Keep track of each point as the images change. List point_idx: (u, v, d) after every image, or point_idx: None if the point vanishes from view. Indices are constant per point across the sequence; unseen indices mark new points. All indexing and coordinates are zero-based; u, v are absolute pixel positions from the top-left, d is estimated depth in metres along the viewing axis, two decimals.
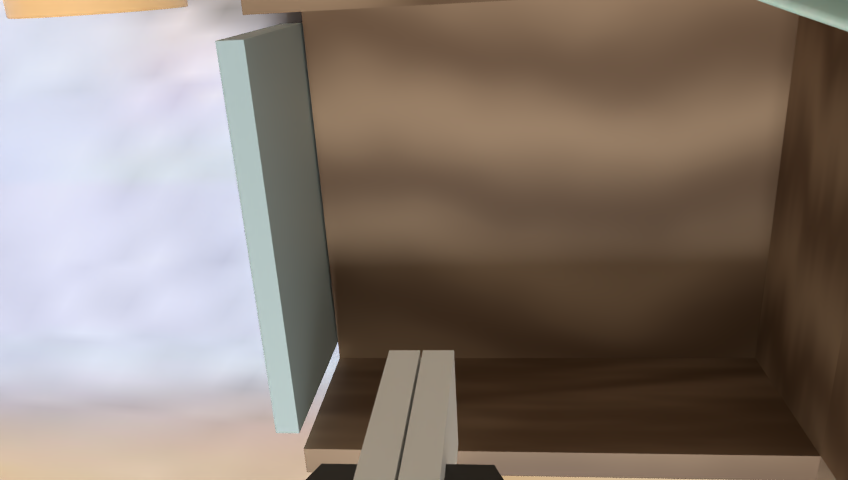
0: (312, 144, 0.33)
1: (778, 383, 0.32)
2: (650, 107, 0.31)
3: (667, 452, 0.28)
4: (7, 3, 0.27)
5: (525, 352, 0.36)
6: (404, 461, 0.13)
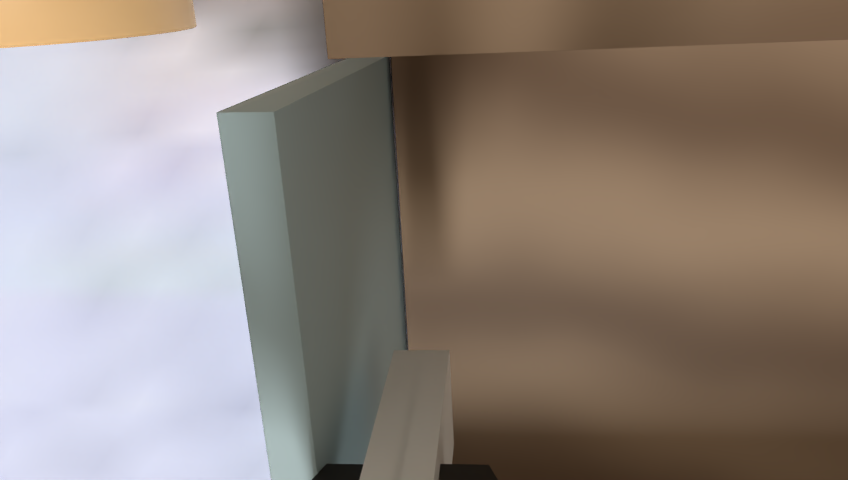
0: (394, 252, 0.20)
1: None
2: None
3: None
4: None
5: None
6: (410, 461, 0.13)
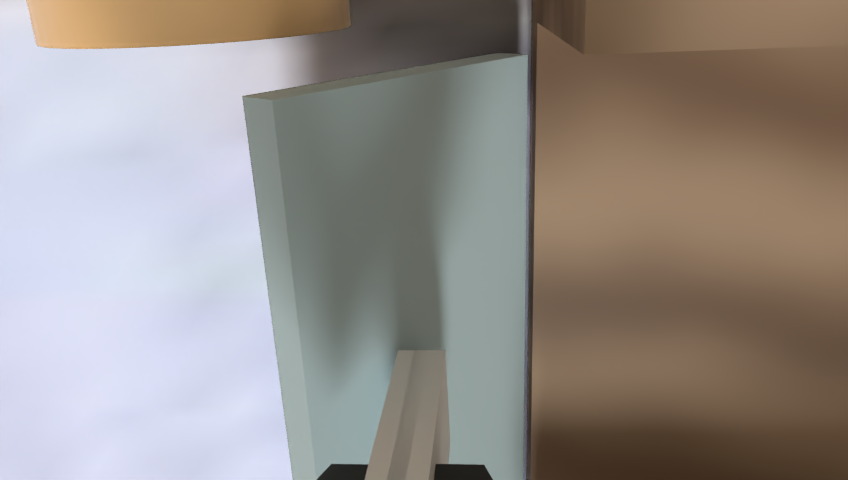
0: (509, 253, 0.20)
1: None
2: None
3: None
4: (42, 18, 0.14)
5: None
6: (415, 461, 0.13)
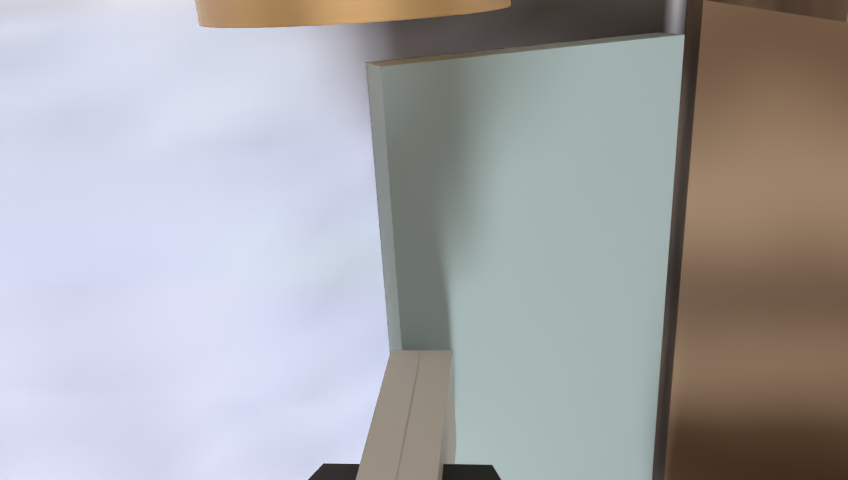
0: (647, 240, 0.19)
1: None
2: None
3: None
4: None
5: None
6: (406, 461, 0.13)
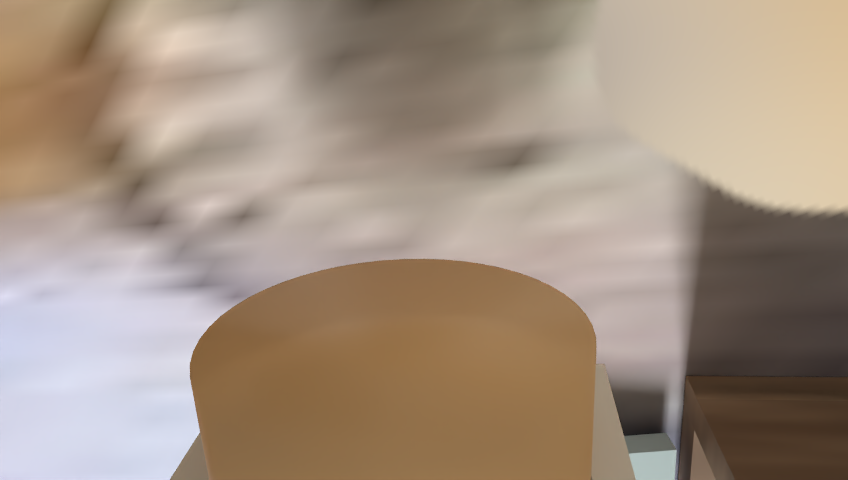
0: None
1: None
2: None
3: None
4: None
5: None
6: None
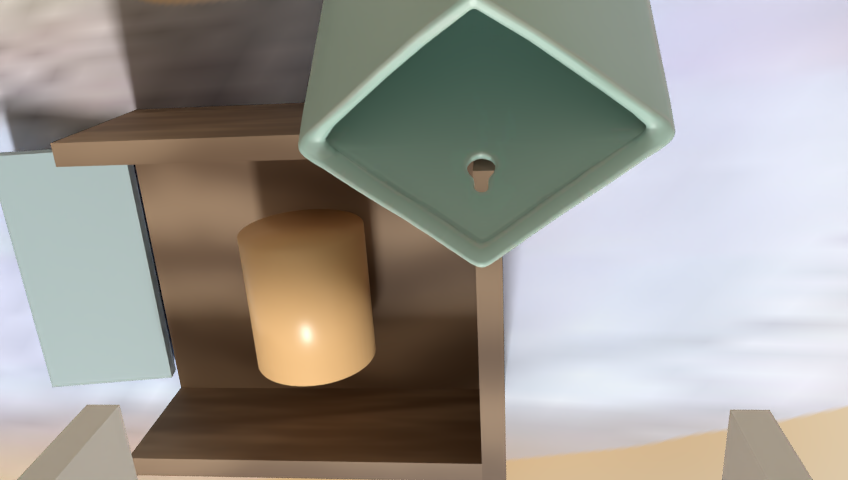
0: (128, 231, 0.44)
1: None
2: (384, 209, 0.42)
3: (381, 461, 0.40)
4: (264, 368, 0.40)
5: None
6: None
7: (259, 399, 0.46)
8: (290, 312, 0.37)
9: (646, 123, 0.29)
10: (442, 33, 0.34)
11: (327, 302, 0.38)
